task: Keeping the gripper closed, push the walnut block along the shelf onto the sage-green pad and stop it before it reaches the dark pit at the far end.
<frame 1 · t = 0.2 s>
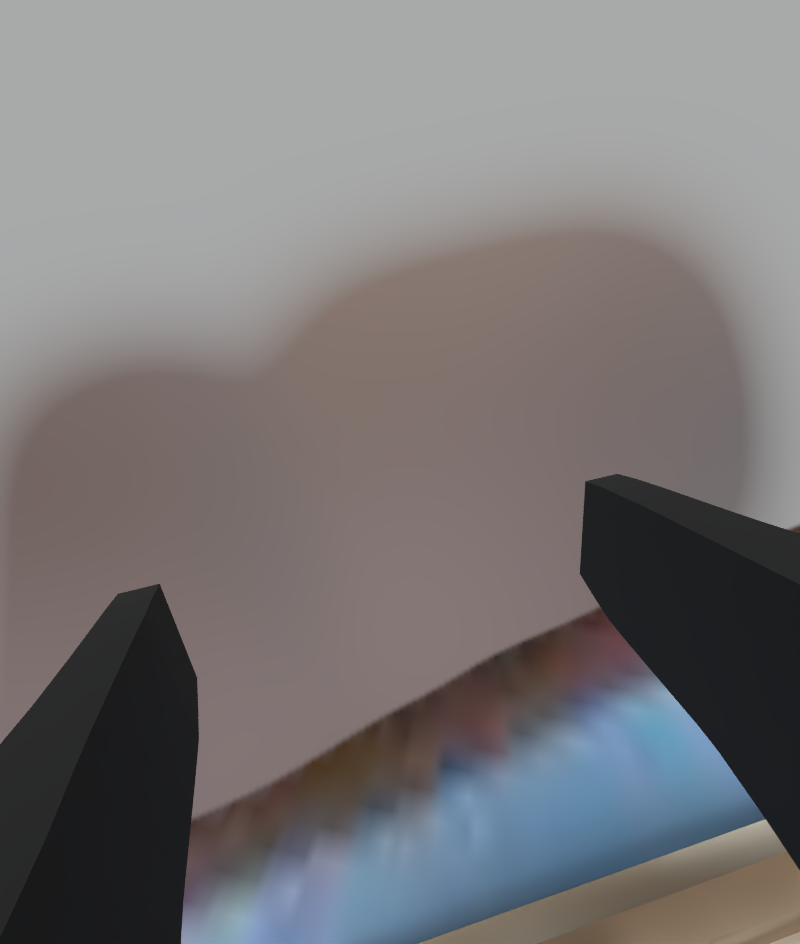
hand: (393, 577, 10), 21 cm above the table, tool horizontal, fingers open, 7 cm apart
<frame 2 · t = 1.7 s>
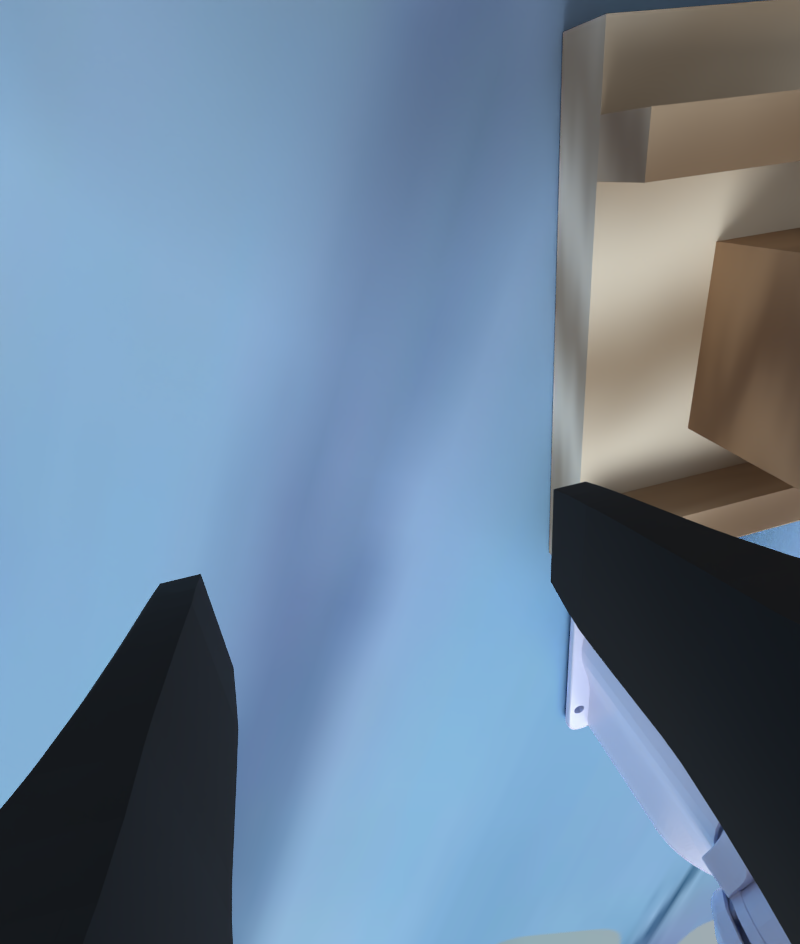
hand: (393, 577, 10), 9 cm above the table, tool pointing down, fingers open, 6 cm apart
walnut block: (780, 326, 19), point 2 cm above the table, touching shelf
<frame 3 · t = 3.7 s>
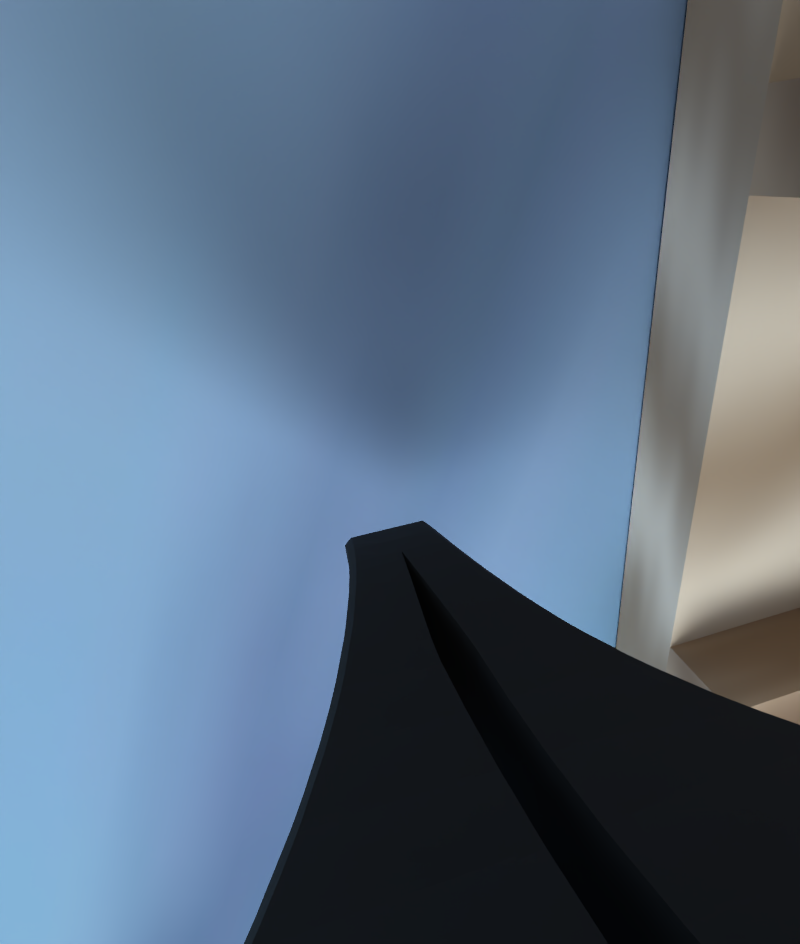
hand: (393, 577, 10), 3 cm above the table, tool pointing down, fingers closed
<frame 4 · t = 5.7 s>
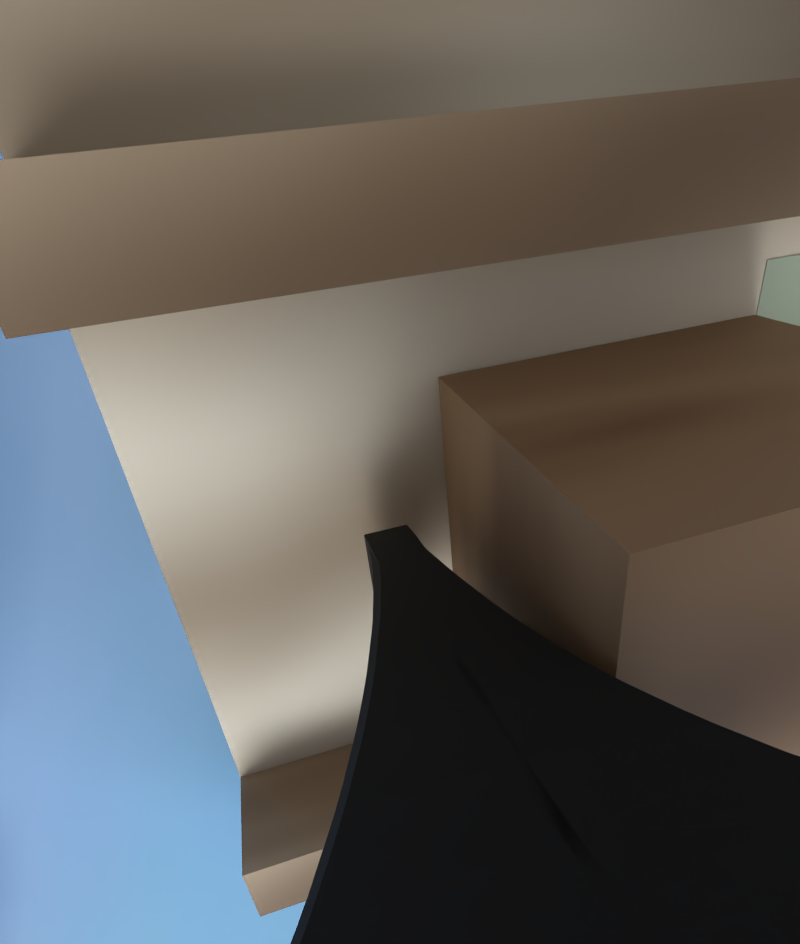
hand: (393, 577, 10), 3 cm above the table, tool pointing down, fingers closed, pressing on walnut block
walnut block: (594, 494, 11), point 2 cm above the table, touching gripper, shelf
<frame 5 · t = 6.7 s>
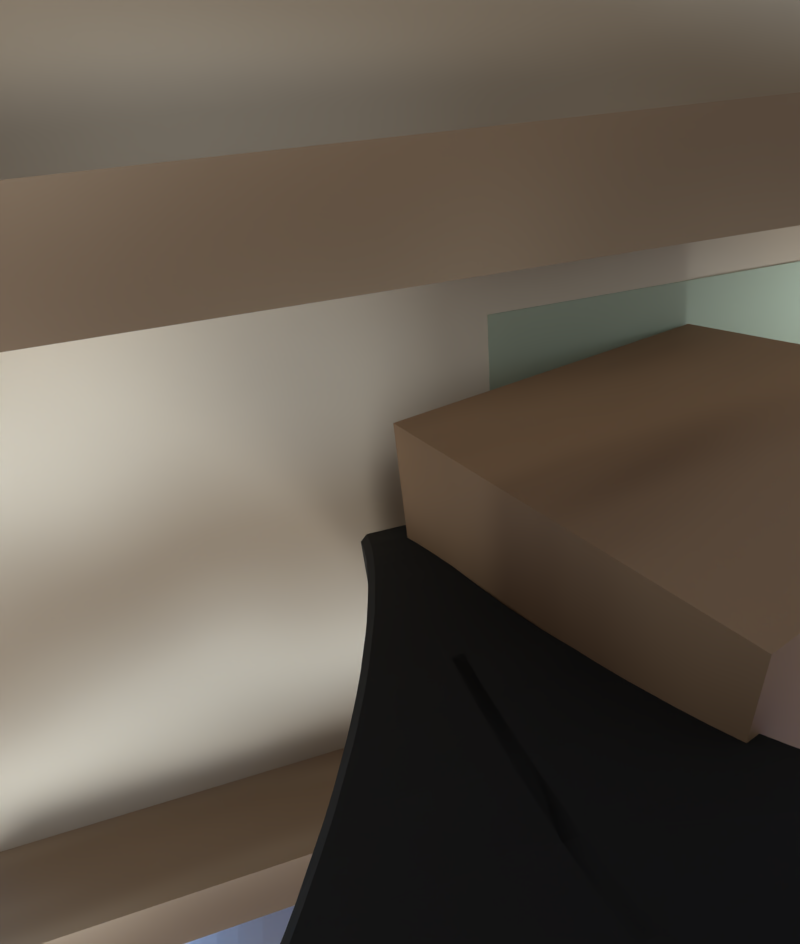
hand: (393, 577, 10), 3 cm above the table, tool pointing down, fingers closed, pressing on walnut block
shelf: (618, 441, 13), on the table
walnut block: (556, 526, 10), point 3 cm above the table, tilted 15°, touching gripper
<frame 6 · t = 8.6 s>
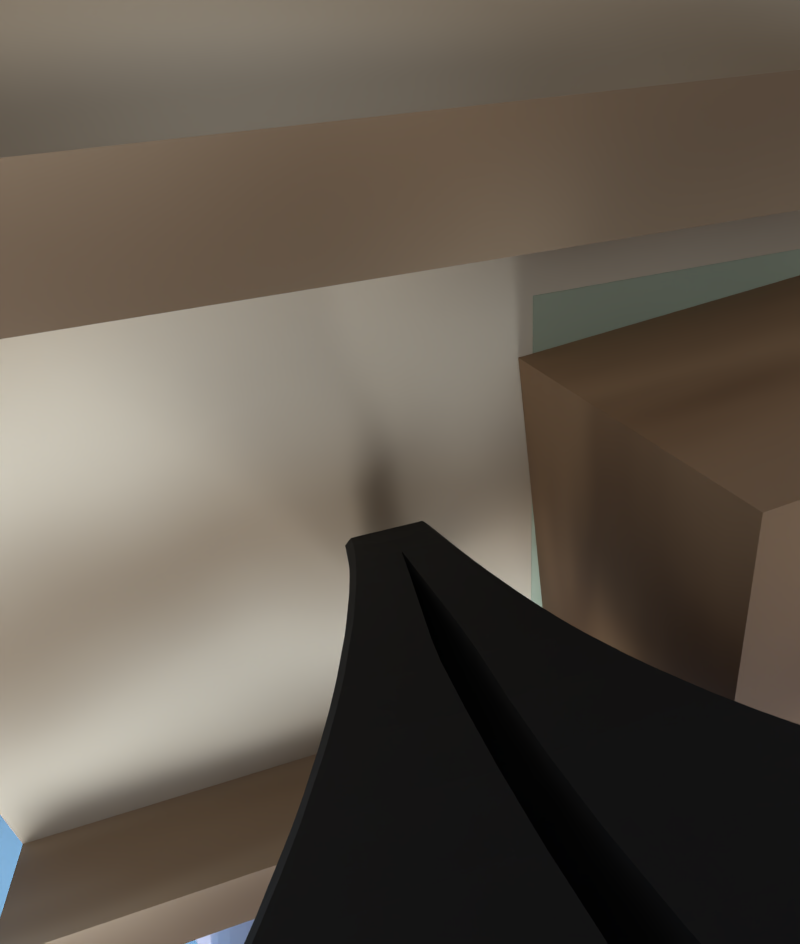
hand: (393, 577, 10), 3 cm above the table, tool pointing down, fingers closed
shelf: (650, 426, 13), on the table
walnut block: (672, 460, 11), point 2 cm above the table, touching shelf
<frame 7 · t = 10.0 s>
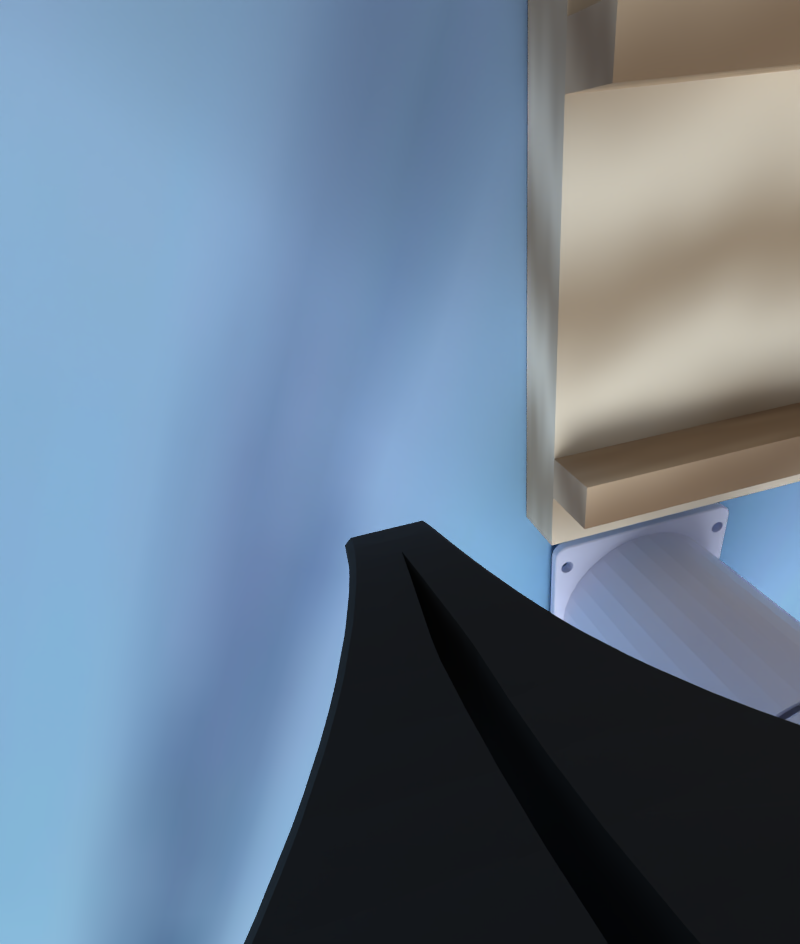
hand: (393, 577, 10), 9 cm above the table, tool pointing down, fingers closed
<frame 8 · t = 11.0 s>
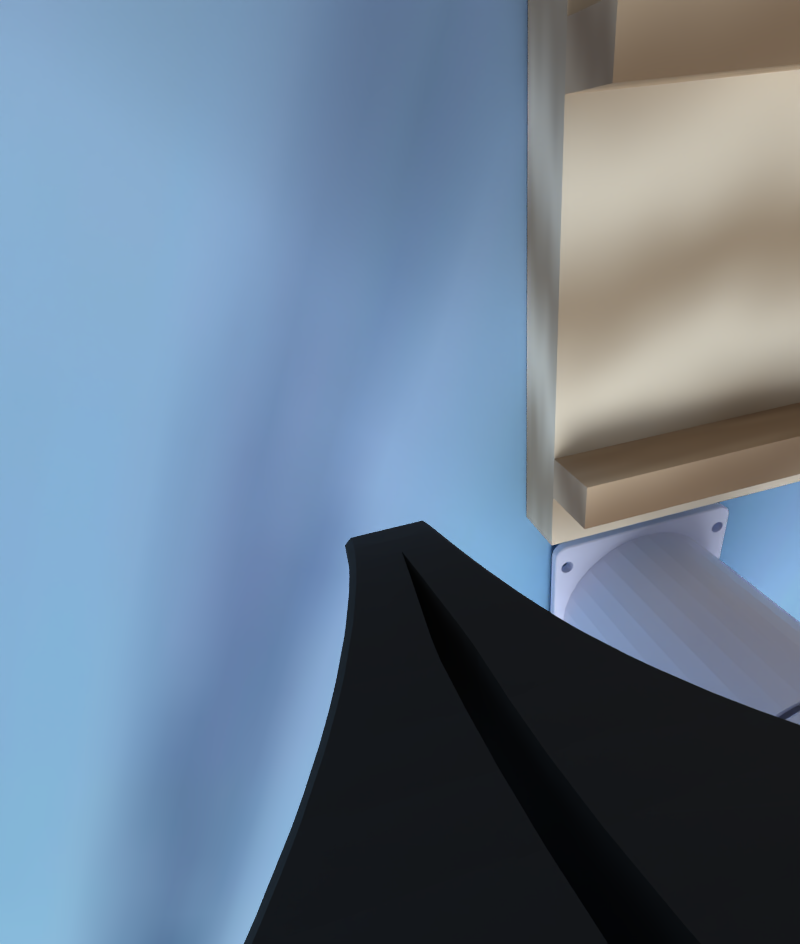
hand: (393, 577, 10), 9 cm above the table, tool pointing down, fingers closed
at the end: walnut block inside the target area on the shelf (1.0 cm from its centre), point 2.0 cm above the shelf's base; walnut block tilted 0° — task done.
